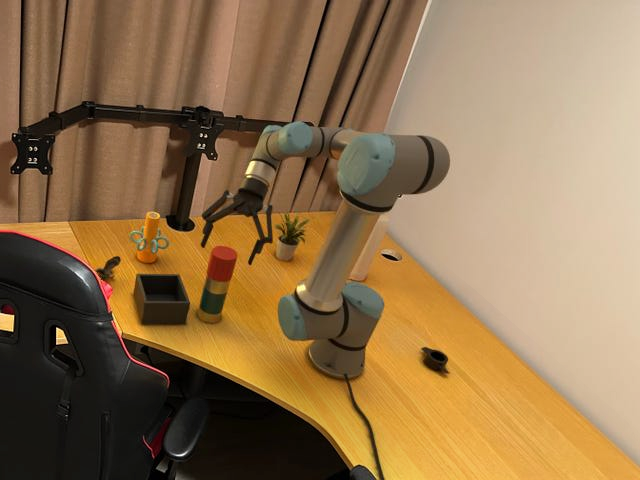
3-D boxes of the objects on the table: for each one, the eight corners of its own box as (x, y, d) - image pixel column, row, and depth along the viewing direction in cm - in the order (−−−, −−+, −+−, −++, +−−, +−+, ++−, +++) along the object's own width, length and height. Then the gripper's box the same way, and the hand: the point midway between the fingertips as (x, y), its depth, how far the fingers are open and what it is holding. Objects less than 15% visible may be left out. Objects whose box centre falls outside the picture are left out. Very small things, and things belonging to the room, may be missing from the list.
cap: (234, 282, 169) (240, 260, 164) (210, 282, 167) (215, 259, 163) (227, 267, 174) (233, 246, 169) (204, 267, 172) (209, 245, 168)
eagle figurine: (121, 285, 182) (126, 264, 188) (109, 268, 178) (114, 246, 183) (98, 291, 185) (104, 270, 191) (86, 274, 181) (92, 253, 186)
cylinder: (123, 249, 199) (129, 206, 190) (153, 246, 203) (160, 203, 194) (138, 270, 191) (144, 227, 182) (169, 267, 196) (177, 224, 186)
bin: (185, 324, 175) (190, 303, 170) (141, 324, 172) (144, 302, 167) (175, 294, 185) (179, 274, 180) (133, 294, 182) (136, 273, 177)
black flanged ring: (421, 371, 175) (425, 363, 173) (418, 349, 183) (422, 342, 181) (448, 378, 175) (453, 371, 173) (445, 356, 182) (449, 349, 180)
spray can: (222, 323, 178) (235, 277, 168) (200, 323, 177) (211, 277, 167) (216, 308, 183) (228, 263, 173) (194, 308, 181) (205, 263, 171)
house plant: (254, 259, 207) (267, 215, 196) (262, 240, 217) (275, 197, 206) (297, 272, 205) (312, 228, 194) (303, 252, 215) (318, 209, 204)
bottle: (364, 270, 212) (399, 187, 193) (367, 283, 206) (404, 199, 187) (340, 265, 212) (373, 182, 192) (343, 278, 206) (377, 194, 187)
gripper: (299, 202, 171) (269, 274, 170) (214, 174, 176) (185, 243, 175) (300, 192, 164) (269, 266, 163) (212, 162, 169) (181, 234, 168)
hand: (225, 254), depth 169 cm, fingers open, 13 cm apart
